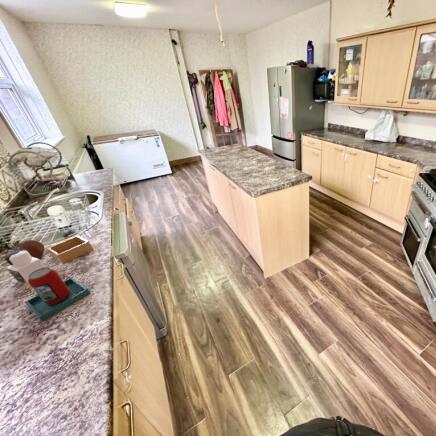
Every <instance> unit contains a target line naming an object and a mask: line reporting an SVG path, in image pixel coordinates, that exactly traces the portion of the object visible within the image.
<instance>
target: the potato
mask: <svg viewBox="0 0 436 436" xmlns="http://www.w3.org/2000/svg"><path fill="white" fill-rule="evenodd" d="M18 250H27V251H28V252H29V253H30V255H31V256H32V257H33V258H37V259H40V258H41V257H42V256H43V255H44V252H45V245H44V243H42V242H41V241H39V240H36V239H28V240H25V241H23V242H22V243H21V244H20V246H19V249H18Z"/></svg>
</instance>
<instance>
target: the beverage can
mask: <svg viewBox="0 0 436 436" xmlns="http://www.w3.org/2000/svg"><path fill="white" fill-rule="evenodd" d="M28 278H29V279H28V283H29V284H28V285H29V286H30V287H31V288H32V289H33V290H34V292H35V293H36V295H39V296H40V298H41V299H42V300H43V301H44V302H45V303H46V304H48V305H51V304H56V303H59V302H61V301H63V300H64V299H65V298H67V296H68V295H69V294H70V290H69V289H68V287H67V286H66V285H65V283H64V282H63V281H64V280H63V279H62V277H61V276H60V274H59V273H58V272H57V270H55V269H53V268H51V267H48V266H45V267H44V268H41V269H38V270H36V271H34V272H32V273H31V274H30V275H29V276H28Z"/></svg>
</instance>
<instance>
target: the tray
mask: <svg viewBox="0 0 436 436" xmlns="http://www.w3.org/2000/svg"><path fill="white" fill-rule="evenodd" d="M63 282H64V283H65V285H66V286H67V287H68V289H69V290H70V294H69V295H68V296H67V298H65V299H64V300H63V301H61V302H59V303H56V304H51V305H48V304H46V303H45V302H44V301H43V300H42V299H41V298H40V296H39V295H38V294H36V295H35V296H33V297H31V298H29V299H27V300H26V301H24V304H25V305H26V306H27V307H28V308H29V309H30V310H31V311H32V312H33V314H34V315H35V316H36V317H37V318H39V320H40V321H41V322H42V323H44V322H46V320H49V319H50V318H52V317H54V316H55V315H57V314H58V313H60V312H62V311H63V310H65V309H66V308H69V307H70V306H72V305H74V304H76V303H77V302H78V301H80V300H82V299H83V298H85V297H87V296H88V295H90V294H91V291H90V290H89V288H87V287H86V286H84V285H83V284H82V283H81V282H79V281H77V279H75V278H73V277H72V276H71V277H69V278H67V279H65V280H63Z"/></svg>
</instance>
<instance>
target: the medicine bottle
mask: <svg viewBox="0 0 436 436" xmlns="http://www.w3.org/2000/svg"><path fill="white" fill-rule="evenodd" d="M4 260H5V261H6V263H7V264H8V265H9V266H6V270H7V271H8V272H9V273H10V274H11V275H12V277H13V278H14V280H15V281H16V282H19V283H22V284H25V285H30V284H29V283H28V279H29V278H28V276H29V275H30V274H31V273H32V272H34V271H36V270H38V269H41V268H44V267H46V265H45V264H44V263H43V261H41V259H40V258H39V259H37V258H33V257H32V256H31V255H30V253H29V252H28V251H27V250H19V249H17V250H14V251H12V252H10V253H8V254H6V255H5V257H4Z"/></svg>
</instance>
